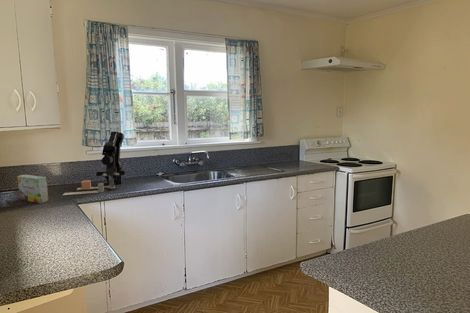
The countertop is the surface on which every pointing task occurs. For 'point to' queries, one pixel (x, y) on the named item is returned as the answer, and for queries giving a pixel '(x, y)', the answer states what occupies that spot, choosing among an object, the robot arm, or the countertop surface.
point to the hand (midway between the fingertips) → (112, 184)
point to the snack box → (33, 188)
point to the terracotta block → (86, 184)
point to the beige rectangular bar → (111, 185)
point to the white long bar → (100, 189)
